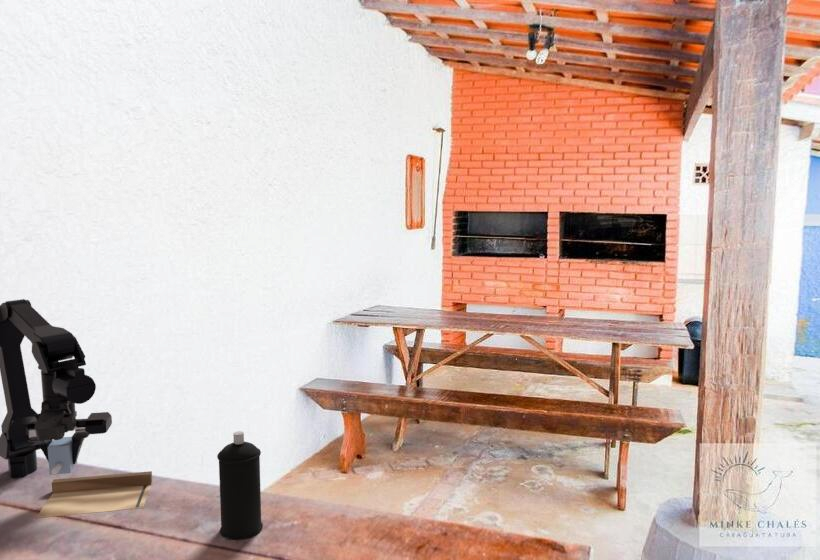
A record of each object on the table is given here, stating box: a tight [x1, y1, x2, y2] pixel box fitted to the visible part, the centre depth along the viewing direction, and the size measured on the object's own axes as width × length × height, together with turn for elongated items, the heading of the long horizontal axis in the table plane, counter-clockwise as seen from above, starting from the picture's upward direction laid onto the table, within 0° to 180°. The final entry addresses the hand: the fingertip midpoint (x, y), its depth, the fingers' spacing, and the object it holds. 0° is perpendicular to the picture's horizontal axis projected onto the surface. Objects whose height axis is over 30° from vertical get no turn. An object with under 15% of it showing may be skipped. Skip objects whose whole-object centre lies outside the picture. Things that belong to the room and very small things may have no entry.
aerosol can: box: [216, 430, 264, 541], centre depth 127 cm, size 8×8×20 cm
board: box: [35, 470, 153, 519], centre depth 137 cm, size 12×20×4 cm, turn 103°
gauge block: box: [48, 436, 78, 476], centre depth 134 cm, size 8×4×6 cm, turn 13°
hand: (63, 464), depth 136 cm, fingers closed on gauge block, 4 cm apart
